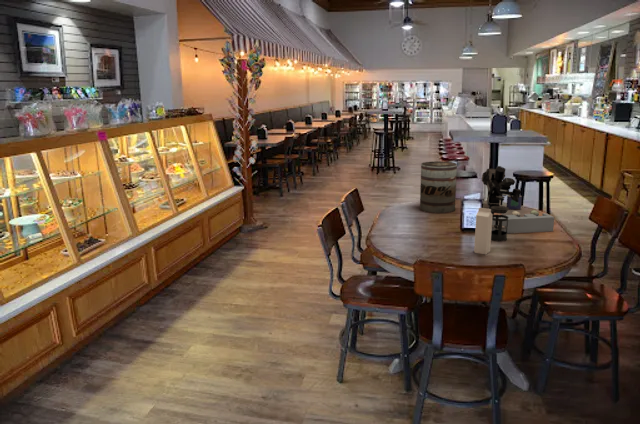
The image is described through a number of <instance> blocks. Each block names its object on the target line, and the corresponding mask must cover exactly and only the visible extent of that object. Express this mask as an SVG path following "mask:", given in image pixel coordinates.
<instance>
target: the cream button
mask: <svg viewBox="0 0 640 424" xmlns="http://www.w3.org/2000/svg"><path fill="white" fill-rule="evenodd" d="M511 215H515V216H517V217H521V212H520V211H518V210H512V212H511Z"/></svg>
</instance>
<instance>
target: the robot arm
mask: <svg viewBox="0 0 640 424" xmlns="http://www.w3.org/2000/svg"><path fill="white" fill-rule="evenodd" d="M506 170H507V169H506V168H504V167H503V166H501V165H497V167H495V168H486V171H484V172H483V173H482V175H481V182H482V184H483V185H485V186H486V187H487V191H488V195H487V199H486V205H487V206H488V209H491V207H492V206H503V202H504V200H505V198H501V202H500V200H499V198H497V197H496V196H504V197H507V196H511V198H512V200H514V201H516V202H518V201H519V200H518V198H519V196H521V194H522V190H521V189H520V188H513V189H512V191H510V190H511V186H514V185H515V184H516V181H515V179H514V178H511V177H506ZM491 210H492V209H491ZM491 213H492V214H493V215H494V213H493V212H491Z"/></svg>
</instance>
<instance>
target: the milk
mask: <svg viewBox="0 0 640 424" xmlns="http://www.w3.org/2000/svg"><path fill="white" fill-rule="evenodd" d="M475 216H476V217H475V232H474V246H473V247H474V248H473V249H474V250H473V253H474V254H475V253H476V254H481V255H487V254H489V253H490V252H491V245H492V244H491V243H492V242H491V241H492V240H491V231H492V216H493V214H492V213H491V209H489V208H485V207H478V211H477V213H476V215H475Z"/></svg>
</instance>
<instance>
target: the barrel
mask: <svg viewBox="0 0 640 424" xmlns="http://www.w3.org/2000/svg"><path fill="white" fill-rule="evenodd" d="M457 172H458V164H457V163H456V162H451V161H440V160H439V161H426V162H422V163H421V164H420V194H419V197H420V198H419V200H420V201H419V210H420V211H421V212H424V213H428V214H437V215H438V214H439V215H440V214H443V215H444V214H451V213H454V212H455V211H456V199H457V198H456V195H457V193H456V191H457V176H458V175H457V174H458V173H457Z"/></svg>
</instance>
